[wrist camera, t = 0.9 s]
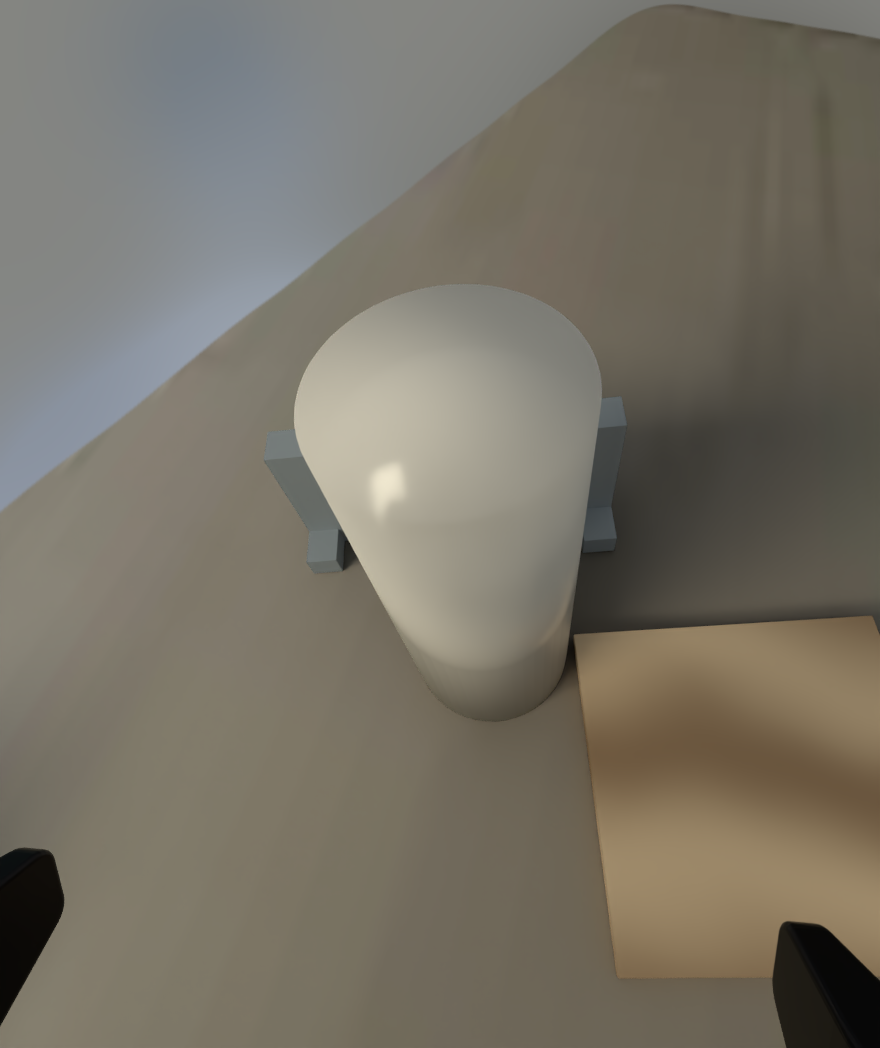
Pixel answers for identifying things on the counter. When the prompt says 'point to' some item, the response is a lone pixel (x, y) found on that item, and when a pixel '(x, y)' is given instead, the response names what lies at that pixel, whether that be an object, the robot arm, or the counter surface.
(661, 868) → the mat
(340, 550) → the screen
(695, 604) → the counter surface
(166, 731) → the counter surface
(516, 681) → the canister
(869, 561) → the counter surface
